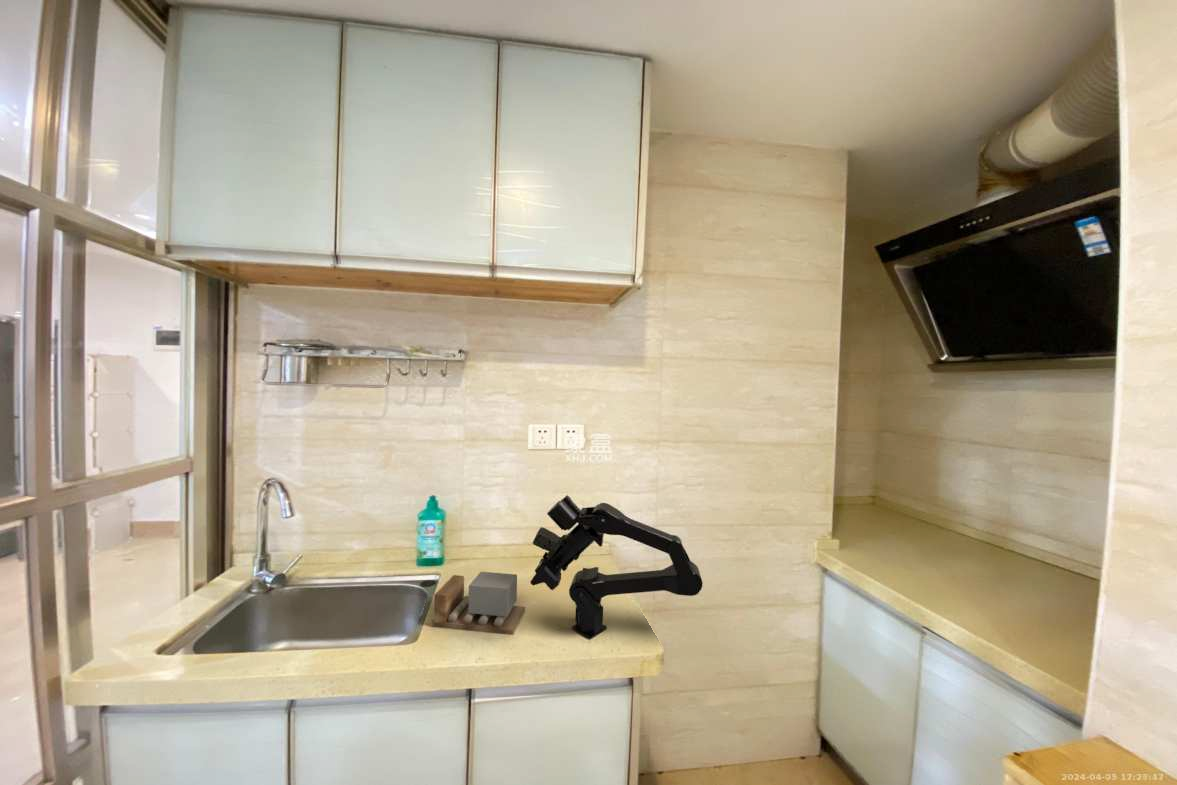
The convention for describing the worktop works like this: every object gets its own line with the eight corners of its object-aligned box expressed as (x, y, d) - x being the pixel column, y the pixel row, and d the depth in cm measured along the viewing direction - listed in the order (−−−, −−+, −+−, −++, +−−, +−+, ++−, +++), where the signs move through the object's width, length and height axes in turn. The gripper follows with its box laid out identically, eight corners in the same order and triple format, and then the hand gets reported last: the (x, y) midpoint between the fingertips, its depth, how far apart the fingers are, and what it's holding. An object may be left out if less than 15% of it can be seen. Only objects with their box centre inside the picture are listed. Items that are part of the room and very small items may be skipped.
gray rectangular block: (516, 600, 117) (517, 574, 116) (507, 616, 109) (507, 588, 108) (480, 597, 118) (480, 571, 118) (468, 613, 110) (468, 585, 110)
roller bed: (525, 611, 118) (525, 581, 118) (512, 634, 107) (513, 601, 107) (450, 604, 121) (451, 574, 120) (431, 626, 110) (431, 594, 110)
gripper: (560, 508, 120) (520, 546, 122) (544, 532, 101) (497, 575, 103) (588, 538, 119) (548, 576, 121) (577, 568, 100) (530, 611, 102)
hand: (531, 583), depth 112 cm, fingers closed
